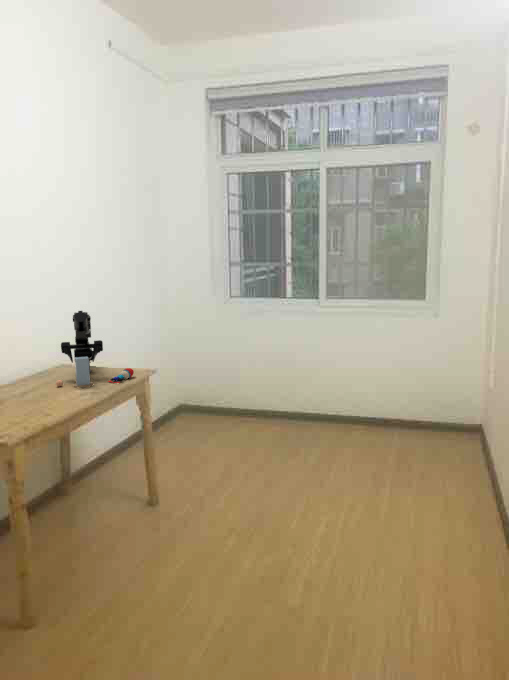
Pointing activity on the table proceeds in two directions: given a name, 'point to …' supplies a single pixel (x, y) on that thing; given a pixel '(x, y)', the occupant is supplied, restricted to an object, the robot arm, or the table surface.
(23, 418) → the table surface
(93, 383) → the coaster
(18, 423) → the table surface
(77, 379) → the pale blue box
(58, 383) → the ball
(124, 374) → the toy figure
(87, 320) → the robot arm
